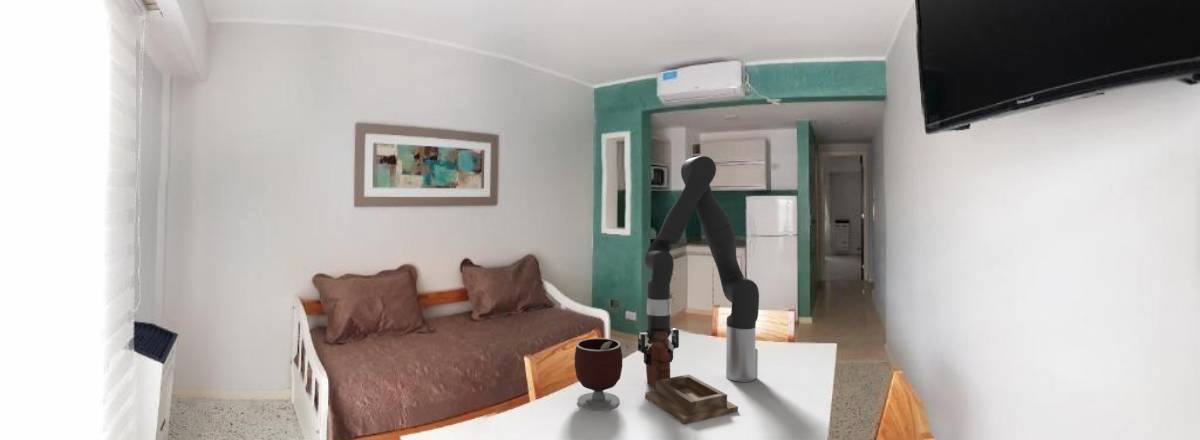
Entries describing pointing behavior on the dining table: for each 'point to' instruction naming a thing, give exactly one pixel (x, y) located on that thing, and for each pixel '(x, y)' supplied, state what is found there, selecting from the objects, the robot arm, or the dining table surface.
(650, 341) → the wooden figurine
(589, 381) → the mate gourd
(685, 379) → the cradle
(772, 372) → the dining table surface
